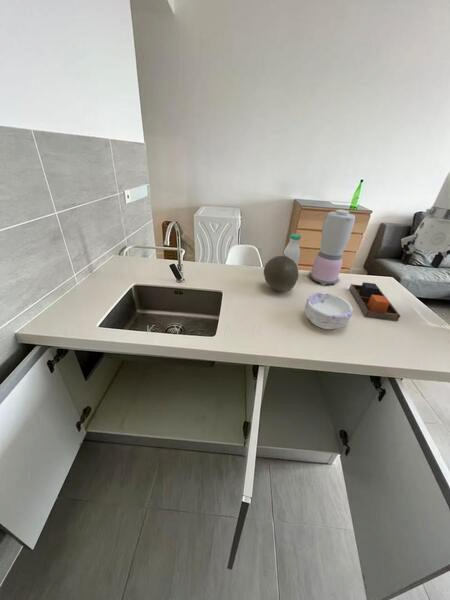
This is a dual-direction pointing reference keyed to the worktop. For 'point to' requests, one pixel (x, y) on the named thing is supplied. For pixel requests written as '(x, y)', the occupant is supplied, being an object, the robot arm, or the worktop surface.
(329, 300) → the paper bowls
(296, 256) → the milk bottle
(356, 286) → the holder
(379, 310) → the orange cube
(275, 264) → the dark brown ball
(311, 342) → the worktop surface
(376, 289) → the black cube
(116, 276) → the worktop surface
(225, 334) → the worktop surface
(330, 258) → the blender
